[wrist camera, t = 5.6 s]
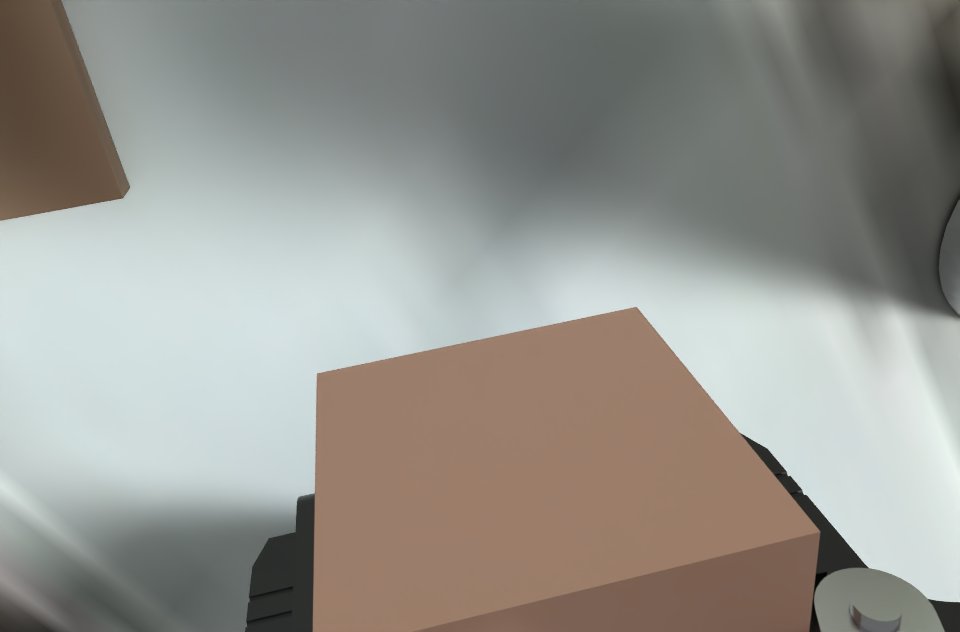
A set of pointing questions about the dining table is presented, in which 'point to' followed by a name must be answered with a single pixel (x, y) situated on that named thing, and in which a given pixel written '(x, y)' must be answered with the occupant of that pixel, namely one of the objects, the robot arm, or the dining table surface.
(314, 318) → the dining table surface
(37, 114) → the walnut board
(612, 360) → the terracotta cube
